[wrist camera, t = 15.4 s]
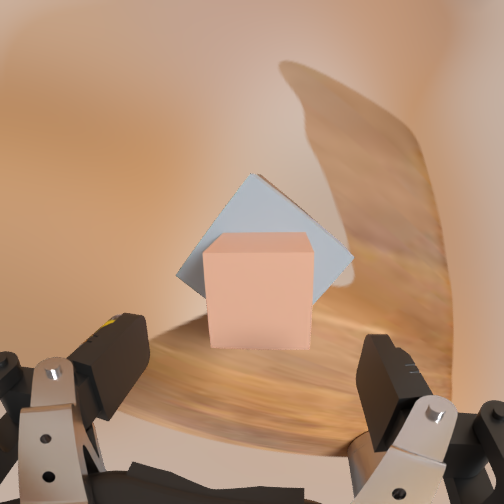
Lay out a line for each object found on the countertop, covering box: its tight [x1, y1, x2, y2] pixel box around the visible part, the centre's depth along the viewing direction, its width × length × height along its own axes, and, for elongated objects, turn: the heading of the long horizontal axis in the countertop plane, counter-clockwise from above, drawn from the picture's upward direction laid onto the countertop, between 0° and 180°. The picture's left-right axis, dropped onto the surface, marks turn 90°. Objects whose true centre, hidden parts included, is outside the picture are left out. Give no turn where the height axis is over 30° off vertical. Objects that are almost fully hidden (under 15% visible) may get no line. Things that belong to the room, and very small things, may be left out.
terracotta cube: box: [203, 232, 314, 350], centre depth 18 cm, size 6×6×6 cm
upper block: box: [176, 174, 354, 305], centre depth 23 cm, size 9×9×4 cm
